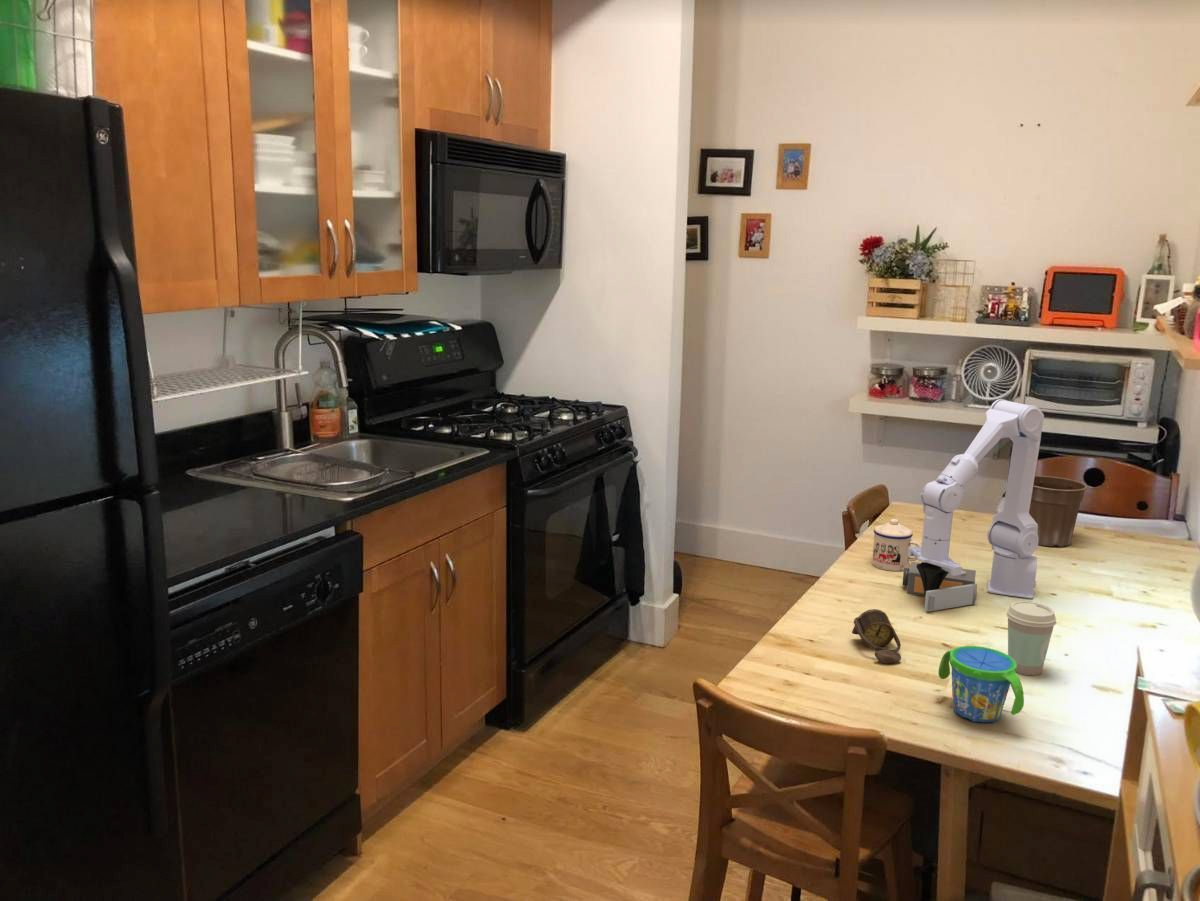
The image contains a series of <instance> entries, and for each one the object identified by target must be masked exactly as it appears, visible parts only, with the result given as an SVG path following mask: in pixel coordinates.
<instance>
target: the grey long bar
mask: <svg viewBox="0 0 1200 901" xmlns="http://www.w3.org/2000/svg"><path fill="white" fill-rule="evenodd" d="M977 591H978V584H977V583H975V584H974V583H972V584H969V585H962V586H956V587H949V588H943V589H936V590H930V591H926V596H924V597H925V599H924V609H923V610H924V611H925V612H933V611H940V610H944V609H945V610H946V609H950V608H951V609H952V608H958V607H963V606H970V605H976V600H977V593H978V592H977Z"/></svg>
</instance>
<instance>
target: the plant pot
mask: <svg viewBox="0 0 1200 901" xmlns="http://www.w3.org/2000/svg"><path fill="white" fill-rule="evenodd" d="M1087 489H1088V486H1087V485H1086V483H1084V482H1081V481H1077V480H1075V479H1071V478H1064V477H1058V476H1052V475H1051V476H1050V475H1049V476H1048V475H1035V478H1034V484H1033V490H1032V496H1031V503H1030V509H1029V514H1030V515H1031V517H1032V518H1033V519H1034V521H1035V522H1036V523H1037V524H1038V529H1037V534H1038V546H1044V547H1045V546H1046V547H1054V546H1057V547H1060V548H1062V547H1067V546H1070V545H1071V544H1072V539H1073V537H1074V536H1073V534H1074V531H1075V527H1076V526H1075V525H1076V523H1077V519H1078V515H1079V509H1080V506H1081V503H1082V502H1083V498H1084V494H1085V491H1087Z"/></svg>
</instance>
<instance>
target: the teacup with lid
mask: <svg viewBox="0 0 1200 901" xmlns="http://www.w3.org/2000/svg"><path fill="white" fill-rule="evenodd" d="M873 533H874V534H873V536H874V537H873V547H872V556H871V557H872V558H871V559H872V560H871V563H872V564H871V565H872V566H874V567H876V568H877V569H880V570H883V571H884V570H885V571H888V572H901V571H904V568H908V569H909V568H910V562H915V561H918V560H917V558H916V557H912V556H908V547H912V546H911V545H913V546H916V547H919V548H921V546H922V543H920V542H919V541H917V540H912V537H913V535H914V534H913V532H912V529H910V528H908V527H906V526H905V525H902V524H901V523H899V520H898V519H896V518H891V519H889V522H885V523H884V524H879V525H876V526H875V527H874V529H873Z"/></svg>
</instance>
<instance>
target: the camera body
mask: <svg viewBox="0 0 1200 901" xmlns="http://www.w3.org/2000/svg"><path fill="white" fill-rule="evenodd" d="M917 564H921V562H915V561H910V564H909V567H908V568H904V570H903V574H902V586H904V587H906V594H907V595H912V596H913V595H914V596H915V595H916V596H921V597H926V596H925V594H924V588H923V583H922V579H921V576H920V573H919V571H918V569H917ZM976 574H977V570H975V569H966V568H962V572H961V575H957V576H953V575H951V573H950V572H949V573H948V574H947V576H946V577H945V578H944V580H943V581H942V583H941V585H940V588H939V589H943V588H949V587H956V586H962V585H969V584H972V583H974V584H976Z"/></svg>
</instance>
